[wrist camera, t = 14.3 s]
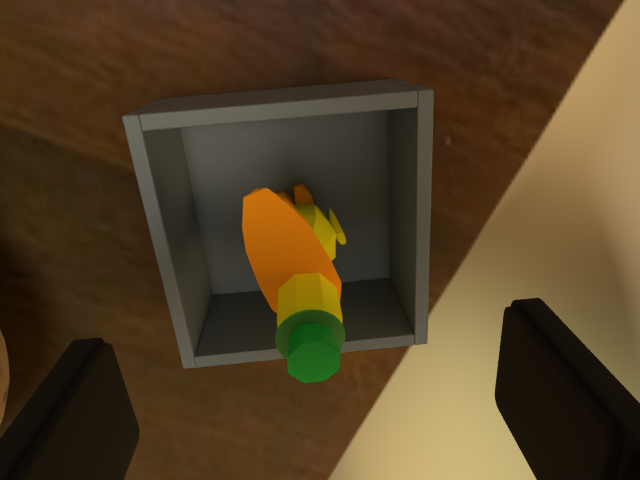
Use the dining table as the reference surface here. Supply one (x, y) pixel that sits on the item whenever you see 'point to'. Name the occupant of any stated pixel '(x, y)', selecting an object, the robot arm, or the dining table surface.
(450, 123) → the dining table surface
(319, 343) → the toy figure
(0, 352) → the ceramic bowl
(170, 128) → the grey bin
